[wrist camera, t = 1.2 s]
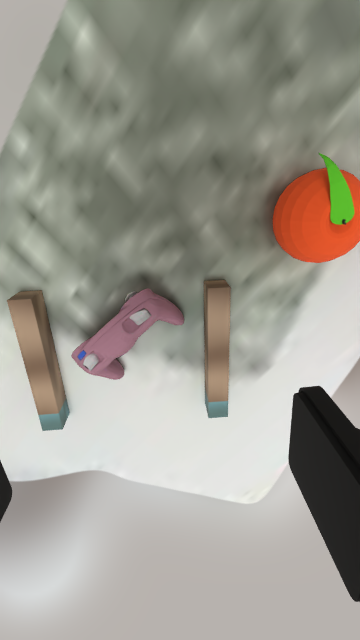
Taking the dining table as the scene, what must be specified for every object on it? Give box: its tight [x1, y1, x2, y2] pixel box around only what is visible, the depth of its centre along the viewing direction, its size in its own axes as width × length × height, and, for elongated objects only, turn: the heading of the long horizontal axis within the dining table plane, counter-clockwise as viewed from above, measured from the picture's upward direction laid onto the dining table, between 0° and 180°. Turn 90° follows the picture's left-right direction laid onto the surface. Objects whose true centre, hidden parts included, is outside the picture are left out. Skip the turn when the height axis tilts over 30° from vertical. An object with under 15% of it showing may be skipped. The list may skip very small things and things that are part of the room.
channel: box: [7, 280, 231, 431], centre depth 30 cm, size 14×19×2 cm
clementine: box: [273, 153, 360, 263], centre depth 23 cm, size 8×7×7 cm
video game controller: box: [72, 288, 184, 379], centre depth 27 cm, size 10×5×7 cm, turn 133°
